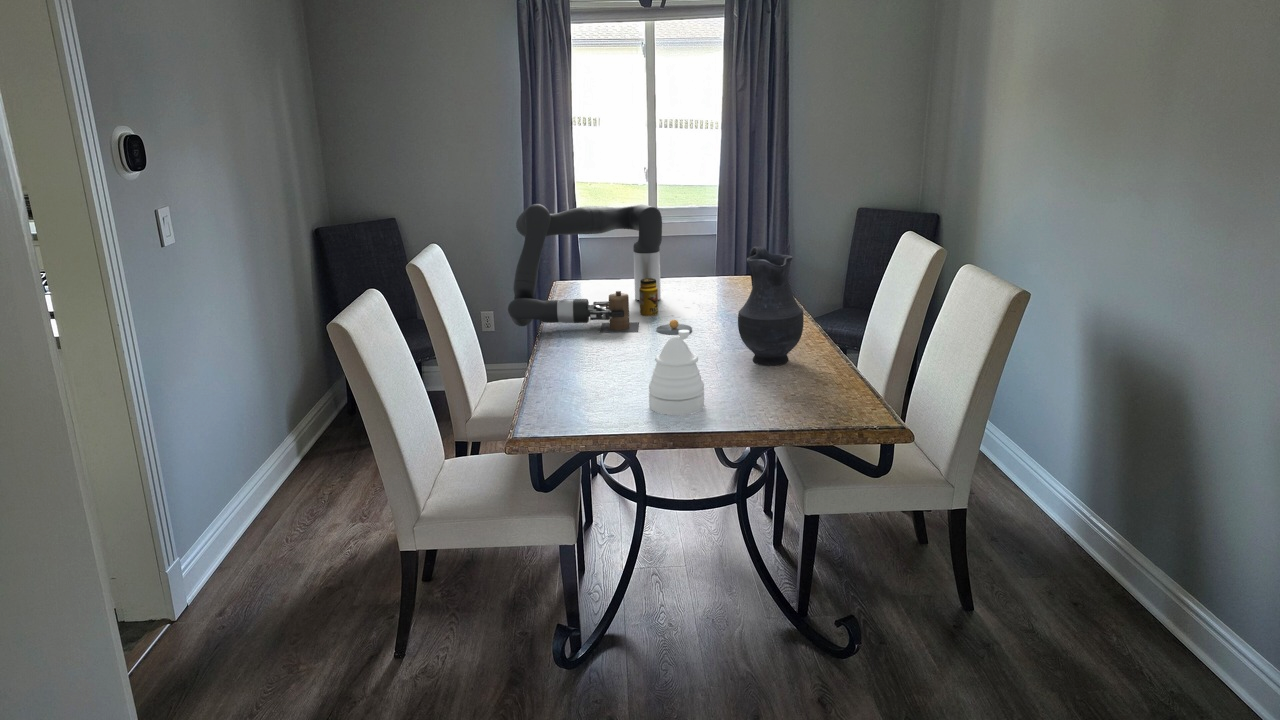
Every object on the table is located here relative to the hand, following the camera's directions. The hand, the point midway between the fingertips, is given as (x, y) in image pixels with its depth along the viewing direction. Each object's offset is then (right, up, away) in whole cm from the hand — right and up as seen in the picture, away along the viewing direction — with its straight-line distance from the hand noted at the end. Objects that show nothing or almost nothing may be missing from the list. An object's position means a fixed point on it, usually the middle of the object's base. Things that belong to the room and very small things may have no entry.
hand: (625, 310), depth 263 cm
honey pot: (+13, -26, -66) cm, 72 cm away
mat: (-2, -6, +2) cm, 6 cm away
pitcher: (+39, -16, -33) cm, 54 cm away
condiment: (+7, -1, +18) cm, 19 cm away
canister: (-2, -5, +2) cm, 6 cm away
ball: (+15, -5, -3) cm, 16 cm away
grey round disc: (+15, -7, -3) cm, 17 cm away
